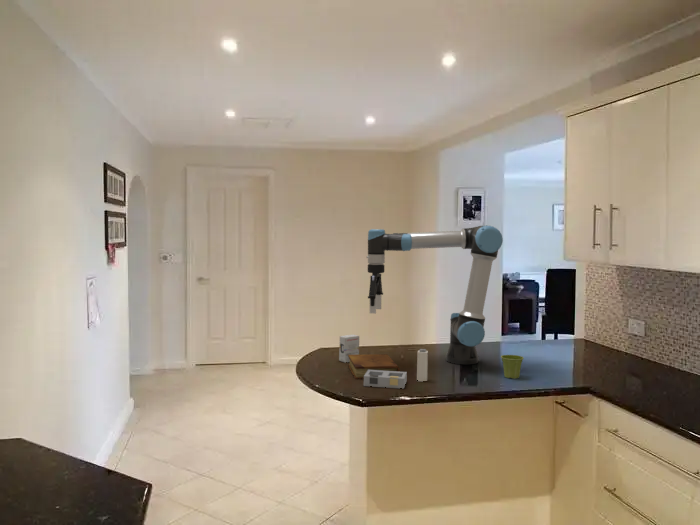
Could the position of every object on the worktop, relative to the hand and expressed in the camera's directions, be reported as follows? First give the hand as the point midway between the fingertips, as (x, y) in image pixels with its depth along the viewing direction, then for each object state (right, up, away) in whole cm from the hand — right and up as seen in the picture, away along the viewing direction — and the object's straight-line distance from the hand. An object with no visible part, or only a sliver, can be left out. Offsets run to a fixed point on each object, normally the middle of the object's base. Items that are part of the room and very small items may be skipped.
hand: (375, 311), depth 271 cm
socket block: (+3, -27, -27) cm, 39 cm away
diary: (-2, -26, -8) cm, 27 cm away
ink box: (-12, -24, +13) cm, 30 cm away
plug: (+18, -27, -21) cm, 39 cm away
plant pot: (+58, -27, -13) cm, 65 cm away
